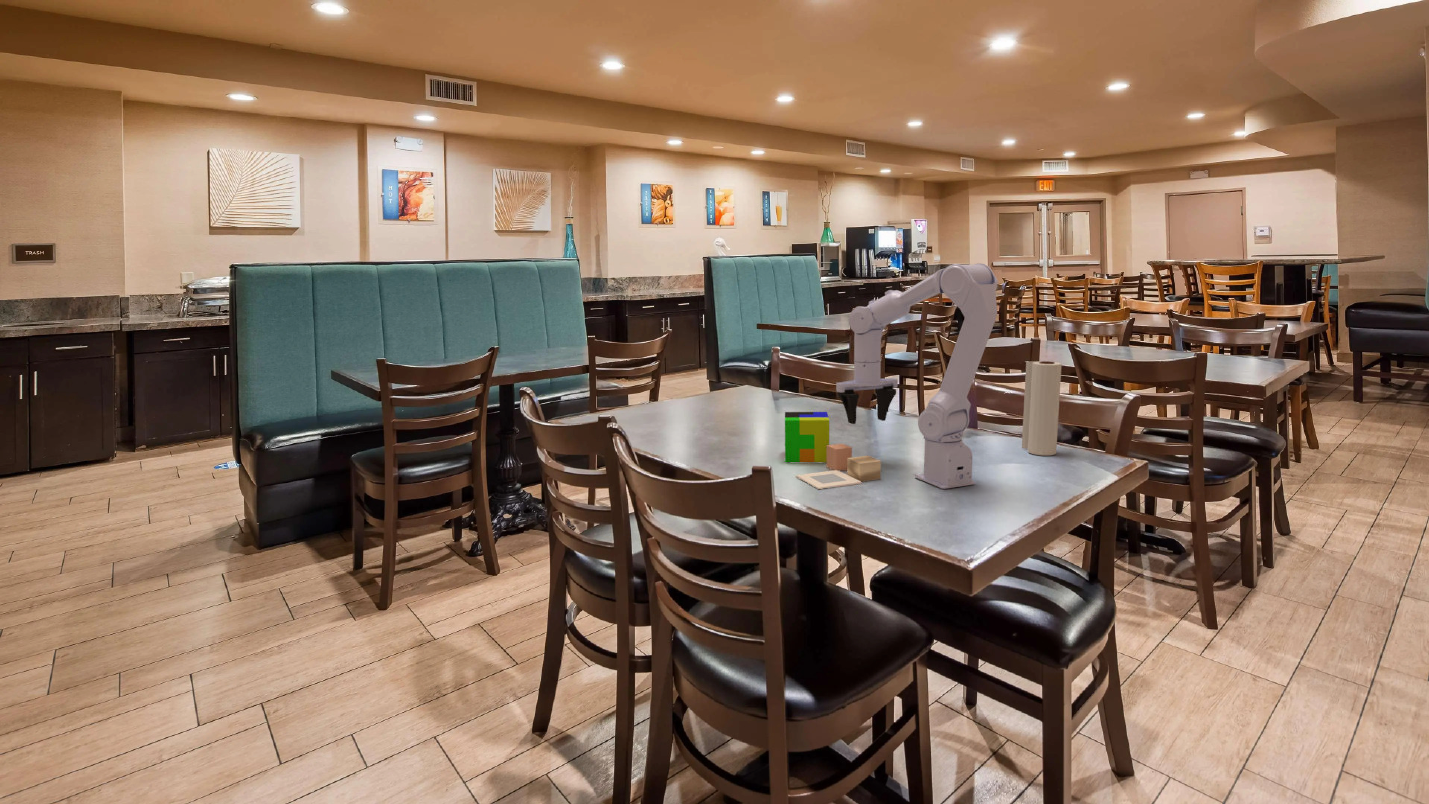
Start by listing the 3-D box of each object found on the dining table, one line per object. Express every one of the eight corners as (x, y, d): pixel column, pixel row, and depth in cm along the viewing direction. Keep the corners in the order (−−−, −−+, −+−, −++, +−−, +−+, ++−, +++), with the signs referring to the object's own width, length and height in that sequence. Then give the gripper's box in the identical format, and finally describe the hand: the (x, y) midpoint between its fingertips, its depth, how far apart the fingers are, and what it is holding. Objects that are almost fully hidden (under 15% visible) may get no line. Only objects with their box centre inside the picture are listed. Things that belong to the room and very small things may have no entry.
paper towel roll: (1060, 456, 168) (1066, 363, 164) (1034, 456, 168) (1039, 364, 164) (1047, 448, 175) (1052, 359, 171) (1021, 449, 175) (1026, 360, 171)
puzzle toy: (826, 452, 176) (827, 411, 175) (829, 463, 167) (829, 420, 165) (785, 452, 177) (784, 412, 176) (785, 463, 168) (784, 420, 166)
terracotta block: (851, 469, 161) (851, 447, 160) (835, 471, 159) (835, 449, 159) (842, 465, 165) (842, 443, 164) (826, 467, 163) (826, 445, 162)
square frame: (861, 483, 150) (861, 481, 150) (818, 489, 146) (818, 487, 146) (836, 471, 159) (836, 469, 159) (795, 477, 156) (795, 475, 155)
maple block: (880, 479, 153) (880, 461, 152) (859, 482, 151) (860, 463, 151) (867, 473, 158) (867, 455, 157) (847, 476, 156) (847, 458, 155)
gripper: (885, 357, 168) (884, 415, 170) (829, 361, 163) (829, 421, 165) (903, 360, 161) (902, 420, 163) (845, 364, 156) (845, 427, 158)
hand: (866, 421), depth 164 cm, fingers open, 7 cm apart
